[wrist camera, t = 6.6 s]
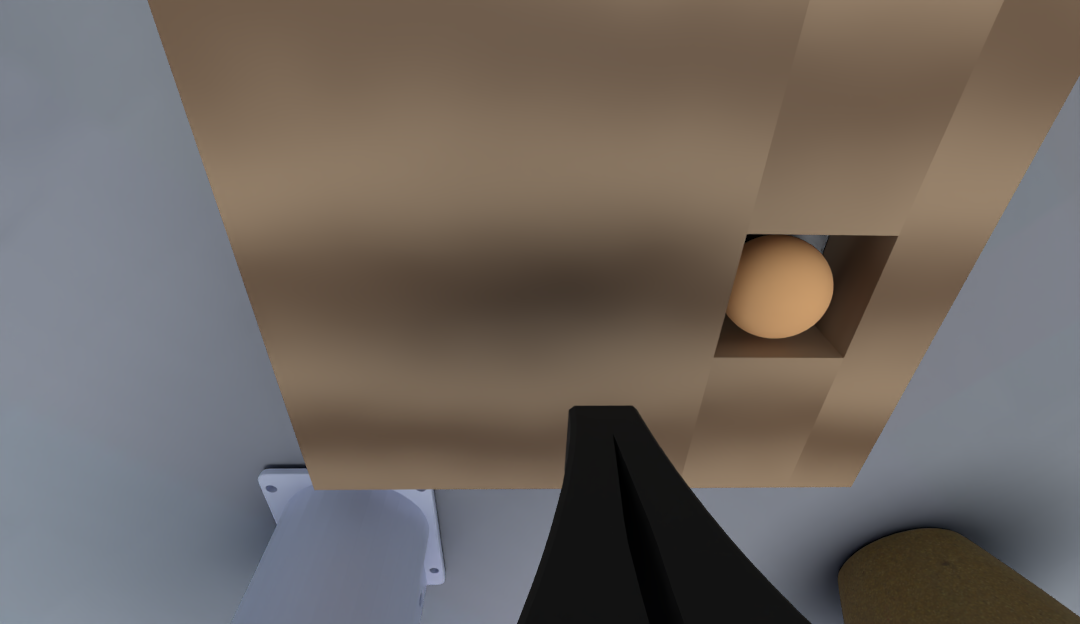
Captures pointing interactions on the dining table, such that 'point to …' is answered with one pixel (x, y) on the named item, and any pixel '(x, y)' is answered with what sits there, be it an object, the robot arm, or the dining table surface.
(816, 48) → the brown wooden flat block
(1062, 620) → the plant pot
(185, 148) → the dining table surface
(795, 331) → the ball
